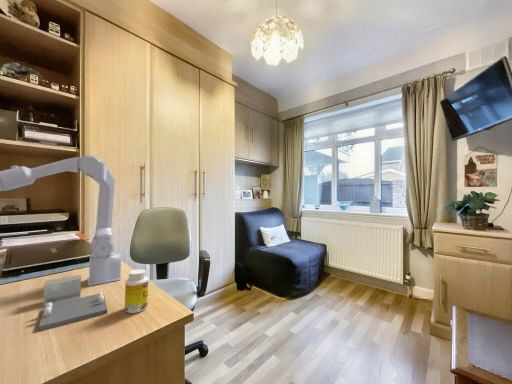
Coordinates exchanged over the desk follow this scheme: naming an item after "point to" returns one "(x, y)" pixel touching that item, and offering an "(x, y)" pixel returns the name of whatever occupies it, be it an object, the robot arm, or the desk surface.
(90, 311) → the pin tray
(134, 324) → the desk surface
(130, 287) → the supplement bottle
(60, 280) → the block
